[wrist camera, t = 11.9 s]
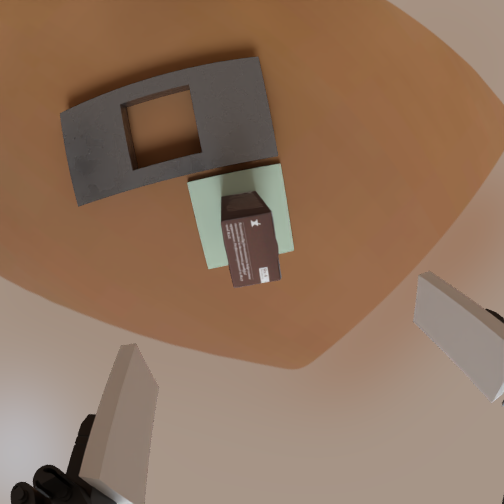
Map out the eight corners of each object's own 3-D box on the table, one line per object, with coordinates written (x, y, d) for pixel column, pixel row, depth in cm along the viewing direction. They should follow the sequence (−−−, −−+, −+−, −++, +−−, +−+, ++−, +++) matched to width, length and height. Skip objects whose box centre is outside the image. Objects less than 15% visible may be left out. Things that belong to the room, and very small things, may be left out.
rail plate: (86, 202, 31) (78, 206, 29) (69, 115, 27) (59, 113, 24) (273, 155, 32) (278, 156, 30) (255, 63, 28) (258, 56, 26)
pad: (208, 267, 36) (208, 269, 35) (187, 182, 32) (187, 182, 31) (292, 249, 36) (294, 250, 36) (279, 163, 33) (280, 163, 32)
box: (218, 196, 32) (218, 220, 21) (256, 190, 33) (277, 209, 21) (227, 245, 34) (233, 290, 23) (263, 238, 35) (286, 280, 24)
